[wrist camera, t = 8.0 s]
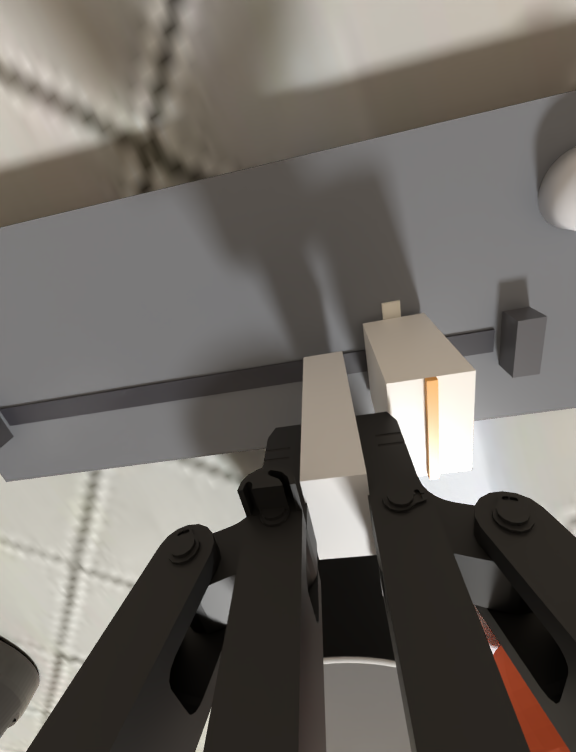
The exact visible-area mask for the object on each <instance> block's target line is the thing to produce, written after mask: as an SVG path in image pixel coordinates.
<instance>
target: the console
mask: <svg viewBox="0 0 576 752" xmlns="http://www.w3.org/2000/svg"><path fill="white" fill-rule="evenodd" d="M421 313H424V314H425V315H426V316H427V317H428V318H429V319H430V320H431V321H432V322H433V324H434V325H435V326H436V327H437V328H438V329H439V330H440V331H441V332H442V334H443V335H444V336H445V337H446V338H447V339H448V340H449V341H450V342H451V344H452V345H453V346H454V347H455V348H456V349H457V350H458V351H459V352H460V353H461V355H462V356H463V357H464V358H465V359H466V360H467V361H468V362H469V363H470V365H471V366H472V367H473V368H474V369H475V370H476V381H475V405H474V421H478V420H486V419H493V418H501V417H509V416H517V415H524V414H532V413H540V412H547V411H555V410H563V409H570V408H576V90H575V91H571V92H566V93H562V94H558V95H554V96H550V97H545V98H541V99H537V100H533V101H529V102H525V103H520V104H516V105H512V106H508V107H504V108H499V109H495V110H491V111H487V112H483V113H478V114H474V115H470V116H466V117H462V118H457V119H453V120H449V121H445V122H441V123H437V124H432V125H428V126H424V127H420V128H416V129H411V130H407V131H403V132H399V133H395V134H390V135H386V136H382V137H378V138H374V139H369V140H365V141H361V142H357V143H353V144H348V145H344V146H340V147H336V148H332V149H328V150H323V151H319V152H315V153H311V154H307V155H302V156H298V157H294V158H290V159H286V160H281V161H277V162H273V163H269V164H265V165H260V166H256V167H252V168H248V169H244V170H239V171H235V172H231V173H227V174H223V175H219V176H214V177H210V178H206V179H202V180H198V181H193V182H189V183H185V184H181V185H177V186H172V187H168V188H164V189H160V190H156V191H151V192H147V193H143V194H139V195H135V196H130V197H126V198H122V199H118V200H114V201H110V202H105V203H101V204H97V205H93V206H89V207H84V208H80V209H76V210H72V211H68V212H63V213H59V214H55V215H51V216H47V217H42V218H38V219H34V220H30V221H26V222H22V223H17V224H13V225H9V226H5V227H1V228H0V474H1V475H2V477H3V478H4V479H5V481H6V482H8V481H16V480H24V479H32V478H39V477H47V476H55V475H62V474H70V473H78V472H85V471H93V470H101V469H109V468H116V467H124V466H132V465H139V464H147V463H155V462H162V461H170V460H178V459H186V458H193V457H201V456H209V455H216V454H224V453H232V452H239V451H247V450H255V449H262V448H266V446H267V440H268V438H269V436H270V435H271V433H272V432H273V431H274V429H275V428H278V427H285V426H292V425H300V424H301V423H302V390H303V357H309V356H315V355H321V354H327V353H334V352H340V351H342V353H343V358H344V363H345V368H346V373H347V378H348V383H349V388H350V393H351V398H352V403H353V408H354V413H355V416H357V415H365V414H372V413H375V411H374V407H373V404H372V400H371V394H370V385H369V376H368V367H367V359H366V350H365V341H364V332H363V323H368V322H374V321H380V320H386V319H391V318H397V317H403V316H409V315H415V314H421Z"/></svg>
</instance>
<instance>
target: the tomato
mask: <svg viewBox="0 0 576 752" xmlns="http://www.w3.org/2000/svg"><path fill="white" fill-rule="evenodd" d="M493 656H494V659H495V662H496V664H497V667H498V669H499V672H500V674H501V677H502V680H503V682H504V685H505V687H506V690H507V692H508V695H509V698H510V700H511V703H512V705H513V708H514V710H515V713H516V716H517V718H518V721H519V723H520V726H521V728H522V731H523V734H524V736H525V739H526V741H527V744H528V746H529V749H530V752H570V750H569V749H568V747H567V746H566V744H565V743H564V741H563V740H562V738H561V736H560V735H559V733H558V732H557V730H556V729H555V727H554V726H553V724H552V723H551V721H550V720H549V718H548V717H547V715H546V713H545V712H544V710H543V709H542V707H541V706H540V704H539V703H538V701H537V700H536V698H535V697H534V695H533V694H532V692H531V690H530V689H529V687H528V686H527V684H526V683H525V681H524V680H523V678H522V677H521V675H520V674H519V672H518V670H517V669H516V667H515V666H514V664H513V663H512V661H511V660H510V658H509V657H508V655H507V654H506V652H505V651H504V649H503V647H502V646H501V645H500V646H499V648H498V649H497V650H496V651H495V653H494V655H493Z"/></svg>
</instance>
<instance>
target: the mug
mask: <svg viewBox="0 0 576 752" xmlns="http://www.w3.org/2000/svg"><path fill="white" fill-rule="evenodd" d="M317 568H318V572H319V576H320V580H321V603H322V633H323V664H324V695H325V725H326V752H411V747H410V741H409V736H408V730H407V725H406V719H405V713H404V708H403V702H402V697H401V691H400V685H399V680H398V674H397V669H396V663H395V657H394V652H393V646H392V641H391V635H390V630H389V624H388V618H387V613H386V607H385V602H384V596H383V595H382V587H381V580H380V573H379V565H378V559H377V555H369V556H358V557H345V558H334V559H322V560H319V557H318V553H317Z"/></svg>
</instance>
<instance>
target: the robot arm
mask: <svg viewBox="0 0 576 752" xmlns="http://www.w3.org/2000/svg"><path fill="white" fill-rule="evenodd" d="M264 461H265V462H264V465H263V468H261V469H258V470H256V471H254V472H253V473H251V474H249V475H248V476H247V477H246V478H245V479H244V480H243V481H242V482H241V484H240V486H239V488H238V490H237V491H238V494H239V497H240V499H241V502H242V505H243V508H244V510H245V513H246V516H247V517H246V518H245V519H243V520H242V521H241V522H239V523H237V524H235V525H233V526H231V527H228V528H226V529H223V530H221V531H218V532H215V533H212V532H211V531H210V530H209V528H208V527H206V526H203V525H200V524H196V525H188V526H185V527H182V528H180V529H178V530H176V531H175V532H173V533H172V534H171V535H169V536H168V537H167V538H166V539H165V540H164V542H163V543H162V544H161V545H160V547H159V548H158V550H157V551H156V553H155V554H154V556H153V557H152V559H151V560H150V562H149V563H148V565H147V567H146V568H145V570H144V571H143V573H142V574H141V576H140V577H139V579H138V580H137V582H136V583H135V585H134V587H133V588H132V590H131V591H130V593H129V594H128V596H127V597H126V599H125V600H124V602H123V603H122V605H121V607H120V608H119V610H118V611H117V613H116V614H115V616H114V617H113V619H112V620H111V622H110V623H109V625H108V627H107V628H106V630H105V631H104V633H103V634H102V636H101V637H100V639H99V640H98V642H97V643H96V645H95V647H94V648H93V650H92V651H91V653H90V654H89V656H88V657H87V659H86V660H85V662H84V663H83V665H82V667H81V668H80V670H79V671H78V673H77V674H76V676H75V677H74V679H73V680H72V682H71V683H70V685H69V686H68V688H67V690H66V691H65V693H64V694H63V696H62V697H61V699H60V700H59V702H58V703H57V705H56V706H55V708H54V710H53V711H52V713H51V714H50V716H49V717H48V719H47V720H46V722H45V723H44V725H43V726H42V728H41V730H40V731H39V733H38V734H37V736H36V737H35V739H34V740H33V742H32V743H31V745H30V746H29V748H28V750H27V751H26V752H195V751H196V748H197V745H198V742H199V740H200V737H201V734H202V731H203V729H204V726H205V723H206V720H207V718H208V715H209V712H210V709H211V713H210V718H209V724H208V729H207V734H206V740H205V745H204V751H203V752H326V725H325V695H324V664H323V633H322V603H321V580H320V576H319V572H318V568H317V553H318V557H319V560H322V559H334V558H345V557H358V556H369V555H377V559H378V565H379V573H380V580H381V587H382V595H383V596H384V602H385V607H386V613H387V618H388V624H389V630H390V635H391V641H392V646H393V652H394V657H395V663H396V669H397V674H398V680H399V685H400V691H401V697H402V702H403V708H404V713H405V719H406V725H407V730H408V736H409V741H410V747H411V752H530V749H529V746H528V744H527V741H526V739H525V736H524V734H523V731H522V728H521V726H520V723H519V721H518V718H517V716H516V713H515V710H514V708H513V705H512V703H511V700H510V698H509V695H508V692H507V690H506V687H505V685H504V682H503V680H502V677H501V674H500V672H499V669H498V667H497V664H496V662H495V659H494V656H493V654H492V651H491V649H490V646H489V643H488V641H487V638H486V636H485V633H484V631H483V628H482V625H481V623H480V620H479V618H478V615H477V613H476V610H475V607H474V605H475V606H476V608H477V609H478V611H479V612H480V614H481V615H482V617H483V618H484V620H485V621H486V623H487V624H488V626H489V628H490V629H491V631H492V632H493V634H494V635H495V637H496V638H497V640H498V641H499V643H500V644H501V646H502V647H503V649H504V651H505V652H506V654H507V655H508V657H509V658H510V660H511V661H512V663H513V664H514V666H515V667H516V669H517V670H518V672H519V674H520V675H521V677H522V678H523V680H524V681H525V683H526V684H527V686H528V687H529V689H530V690H531V692H532V694H533V695H534V697H535V698H536V700H537V701H538V703H539V704H540V706H541V707H542V709H543V710H544V712H545V713H546V715H547V717H548V718H549V720H550V721H551V723H552V724H553V726H554V727H555V729H556V730H557V732H558V733H559V735H560V736H561V738H562V740H563V741H564V743H565V744H566V746H567V747H568V749H569V750H570V752H576V537H575V536H574V535H573V534H571V533H570V532H569V531H568V530H567V529H566V528H565V527H564V526H563V525H562V524H561V523H559V522H558V521H557V520H556V519H555V518H554V517H553V516H552V515H551V514H550V513H549V512H548V511H546V510H545V509H544V508H543V507H542V506H540V505H539V504H537V503H536V502H535V501H533V500H532V499H530V498H527V497H525V496H522V495H519V494H517V493H510V492H503V491H501V492H494V493H488V494H487V495H485V496H483V497H481V498H479V500H478V502H477V503H476V505H468V504H461V503H455V502H451V501H446V500H443V499H441V498H439V497H436V496H435V495H433V494H432V493H430V492H429V491H427V489H426V488H424V486H423V485H422V484H421V482H420V480H419V478H418V475H417V473H416V470H415V467H414V465H413V462H412V459H411V456H410V454H409V451H408V448H407V446H406V444H405V440H404V438H403V435H402V433H401V430H400V427H399V424H398V422H397V420H396V419H395V418H394V417H392V416H391V415H390V414H389V413H388V412H387V411H386V412H379V413H372V414H365V415H357V416H355V413H354V408H353V403H352V398H351V393H350V388H349V383H348V378H347V373H346V368H345V363H344V358H343V353H342V351H340V352H334V353H327V354H321V355H315V356H309V357H303V390H302V423H301V424H300V425H292V426H285V427H278V428H275V429H274V431H273V432H272V433H271V435H270V436H269V438H268V440H267V446H266V453H265V458H264ZM473 604H474V605H473ZM38 686H39V675H38V672H37V670H36V668H35V667H34V666H33V664H32V663H31V662H30V661H29V660H28V659H27V658H26V657H25V656H24V655H22V654H21V653H20V652H19V651H17V650H16V649H14V648H13V647H11V646H9V645H8V644H6V643H4V642H3V641H1V640H0V738H1V736H2V735H3V733H4V732H5V731H6V729H7V728H9V727H11V726H12V725H14V724H15V723H16V722H17V721H18V719H19V718H20V717H21V716H22V714H23V713H24V711H25V710H26V708H27V706H28V704H29V702H30V701H31V699H32V697H33V695H34V693H35V691H36V689H37V688H38Z"/></svg>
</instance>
